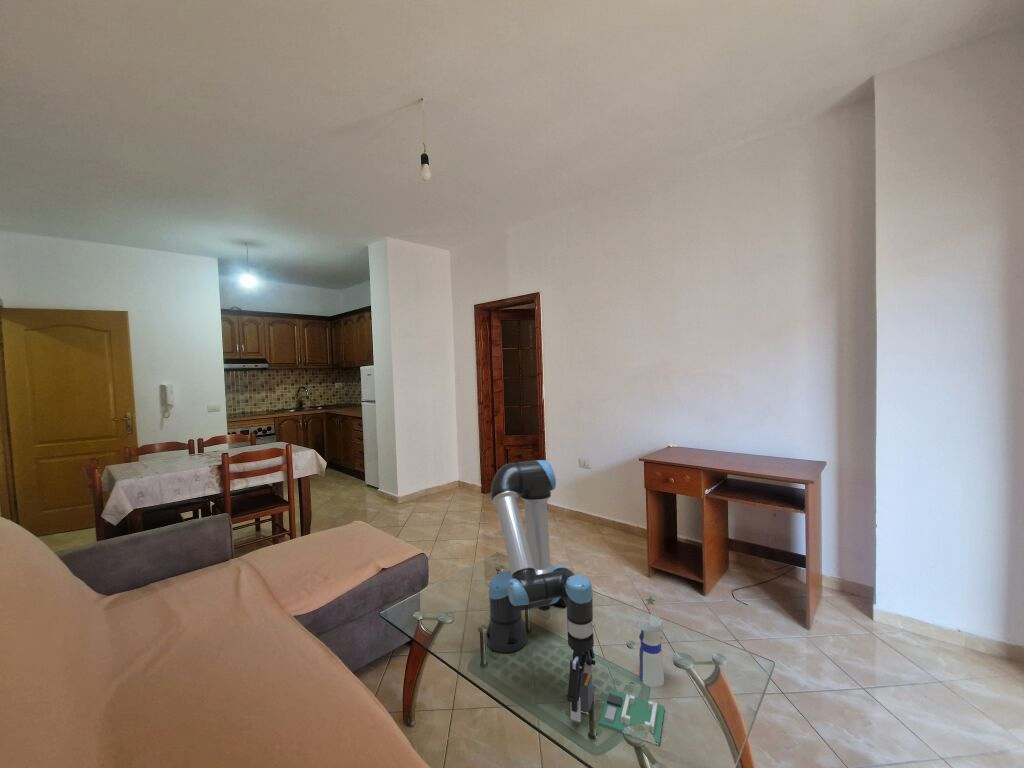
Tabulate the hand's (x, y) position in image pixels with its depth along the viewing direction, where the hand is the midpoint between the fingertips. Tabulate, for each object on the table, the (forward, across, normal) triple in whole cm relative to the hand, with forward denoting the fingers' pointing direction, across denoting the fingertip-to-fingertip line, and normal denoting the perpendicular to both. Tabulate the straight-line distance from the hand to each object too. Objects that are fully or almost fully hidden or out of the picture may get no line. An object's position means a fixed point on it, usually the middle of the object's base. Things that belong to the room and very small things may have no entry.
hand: (582, 702), depth 123 cm
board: (+2, +2, -14) cm, 14 cm away
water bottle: (+2, +20, -17) cm, 26 cm away
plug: (+2, 0, 0) cm, 2 cm away
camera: (+2, +49, +26) cm, 55 cm away
